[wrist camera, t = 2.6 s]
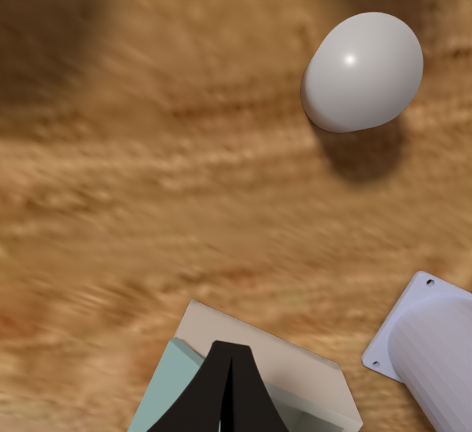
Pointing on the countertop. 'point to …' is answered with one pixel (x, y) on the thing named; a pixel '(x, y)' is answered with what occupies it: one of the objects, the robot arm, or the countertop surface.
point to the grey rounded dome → (362, 74)
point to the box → (280, 371)
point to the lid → (166, 384)
